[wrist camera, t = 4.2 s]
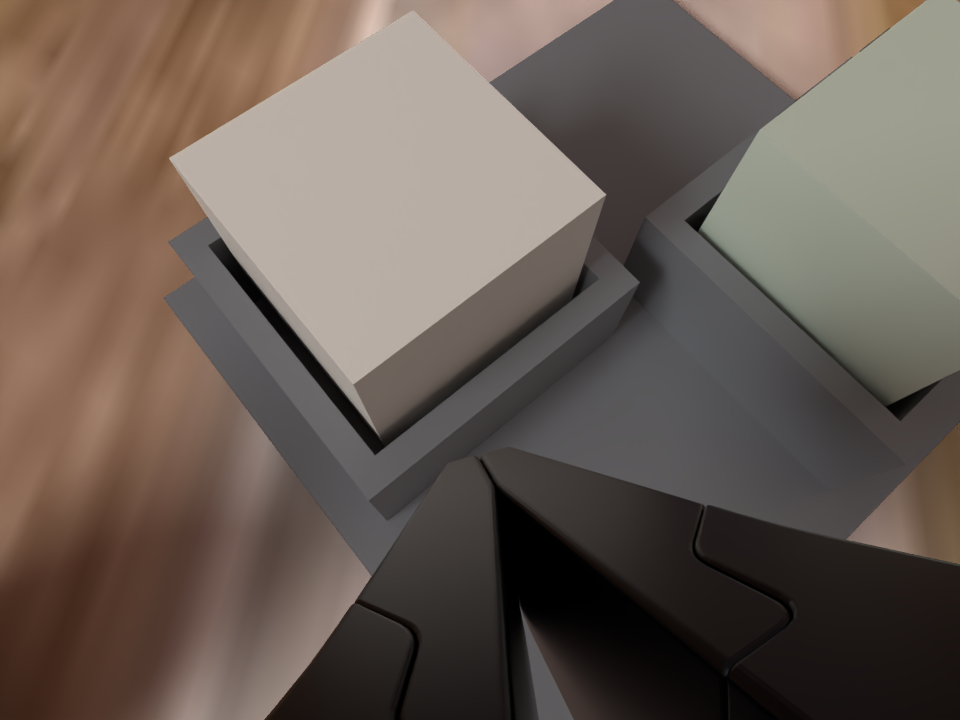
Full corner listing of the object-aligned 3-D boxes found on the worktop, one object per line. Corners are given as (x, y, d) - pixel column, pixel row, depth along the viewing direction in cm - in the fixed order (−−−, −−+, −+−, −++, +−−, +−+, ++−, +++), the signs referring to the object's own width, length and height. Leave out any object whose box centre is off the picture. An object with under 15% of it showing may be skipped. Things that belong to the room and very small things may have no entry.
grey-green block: (1014, 271, 21) (1192, 160, 16) (866, 415, 19) (1012, 344, 14) (833, 123, 23) (939, -20, 18) (683, 243, 21) (752, 124, 16)
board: (1037, 329, 24) (1174, 261, 19) (558, 820, 19) (588, 889, 14) (640, -1, 29) (673, -118, 25) (175, 310, 24) (103, 236, 19)
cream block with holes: (576, 296, 20) (612, 189, 15) (384, 447, 19) (352, 384, 14) (426, 142, 22) (414, 1, 17) (240, 267, 21) (164, 152, 15)
